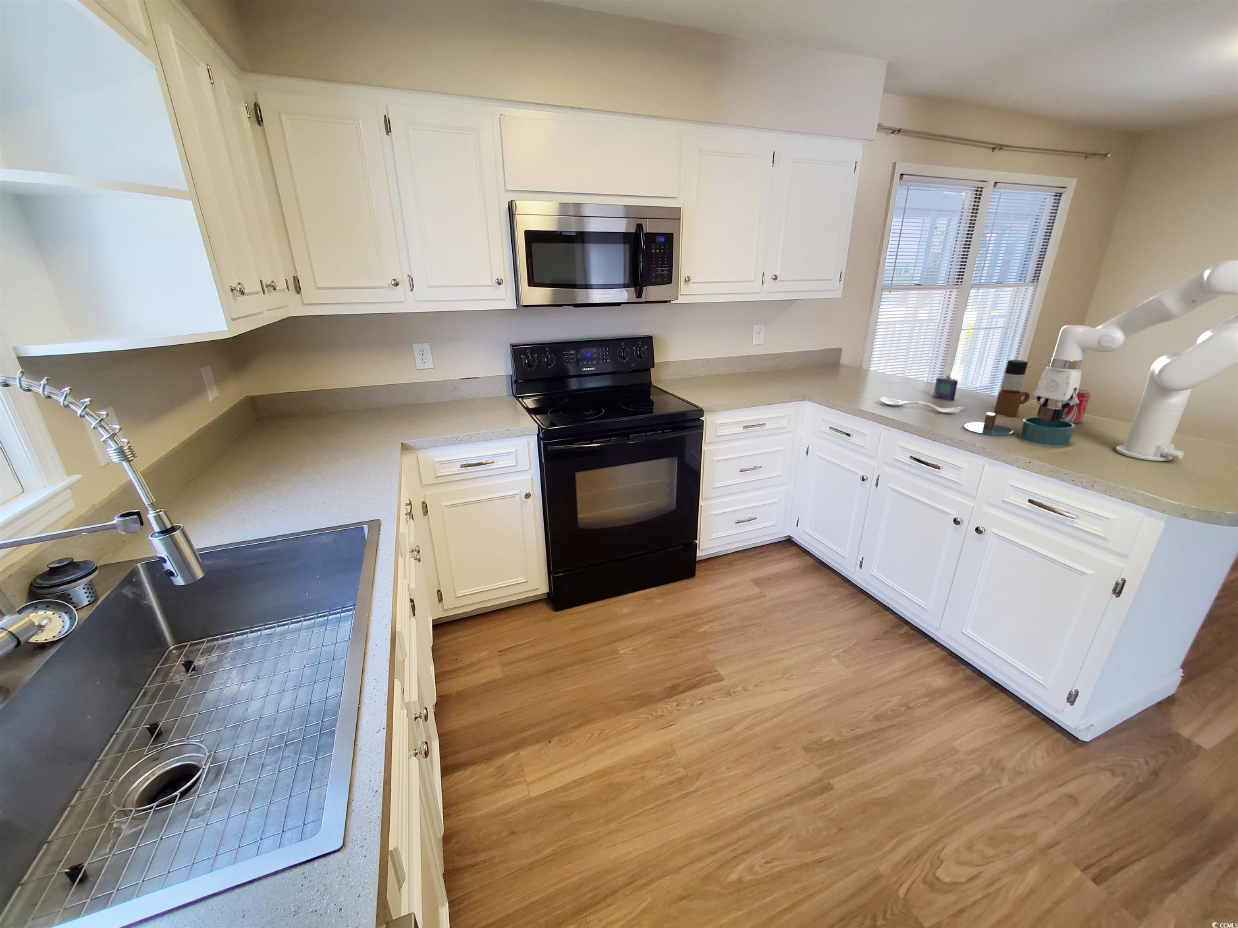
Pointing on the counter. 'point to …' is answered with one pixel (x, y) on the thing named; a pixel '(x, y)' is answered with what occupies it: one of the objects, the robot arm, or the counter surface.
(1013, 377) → the spray can
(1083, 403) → the soda can
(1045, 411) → the block
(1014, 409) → the mug
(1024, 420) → the dish
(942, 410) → the spoon
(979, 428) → the lid
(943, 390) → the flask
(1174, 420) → the robot arm
